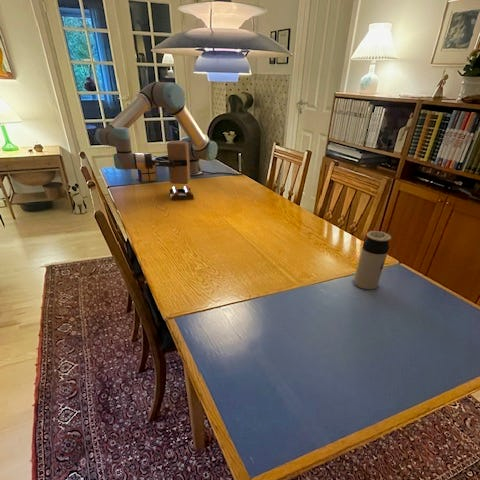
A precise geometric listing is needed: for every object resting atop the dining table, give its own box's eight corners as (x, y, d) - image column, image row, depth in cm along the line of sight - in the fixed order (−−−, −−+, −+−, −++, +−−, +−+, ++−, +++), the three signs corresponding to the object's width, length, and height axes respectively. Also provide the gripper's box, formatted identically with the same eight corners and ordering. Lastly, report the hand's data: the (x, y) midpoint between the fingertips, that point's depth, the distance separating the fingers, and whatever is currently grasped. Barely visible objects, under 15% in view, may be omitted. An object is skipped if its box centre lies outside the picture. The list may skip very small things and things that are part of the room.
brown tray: (190, 192, 203) (190, 185, 201) (193, 199, 192) (193, 192, 190) (170, 193, 200) (169, 186, 198) (171, 200, 190) (171, 192, 187)
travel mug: (349, 283, 119) (361, 234, 109) (360, 276, 124) (373, 228, 113) (370, 292, 115) (384, 242, 104) (381, 284, 119) (396, 235, 109)
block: (188, 184, 187) (185, 144, 176) (169, 183, 187) (166, 143, 176) (190, 179, 196) (188, 140, 184) (173, 179, 196) (169, 140, 184)
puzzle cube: (138, 178, 225) (136, 162, 219) (153, 177, 228) (151, 161, 223) (141, 182, 218) (139, 165, 212) (157, 180, 221) (155, 164, 215)
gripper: (145, 163, 193) (184, 163, 197) (146, 174, 174) (188, 173, 179) (143, 149, 189) (183, 148, 193) (144, 158, 170) (187, 157, 174)
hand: (185, 160), depth 186 cm, fingers closed on block, 12 cm apart
